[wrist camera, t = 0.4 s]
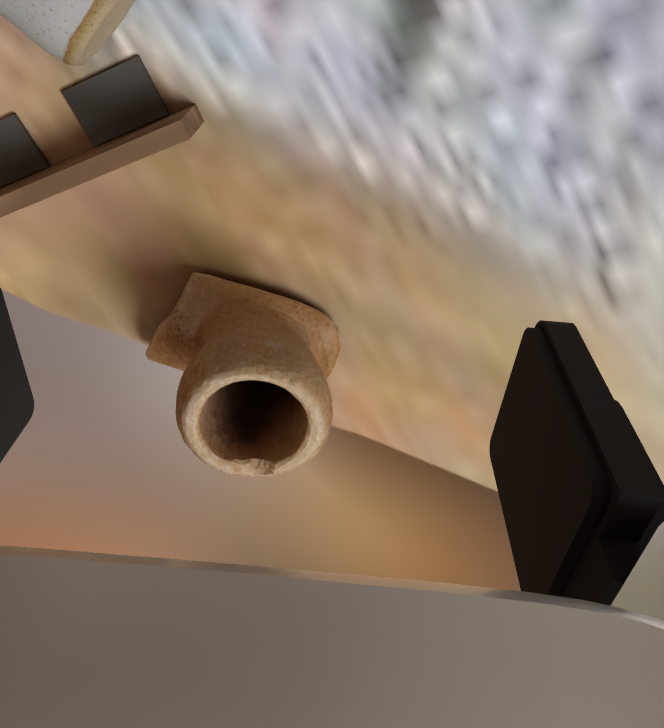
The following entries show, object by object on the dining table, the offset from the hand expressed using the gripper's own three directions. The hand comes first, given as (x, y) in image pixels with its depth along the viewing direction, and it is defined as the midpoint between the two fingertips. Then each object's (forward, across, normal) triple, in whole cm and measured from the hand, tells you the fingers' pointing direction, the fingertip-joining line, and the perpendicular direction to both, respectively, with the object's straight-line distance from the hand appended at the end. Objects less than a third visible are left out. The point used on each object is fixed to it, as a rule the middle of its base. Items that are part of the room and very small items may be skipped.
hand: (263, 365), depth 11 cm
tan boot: (+34, +5, +21) cm, 40 cm away
